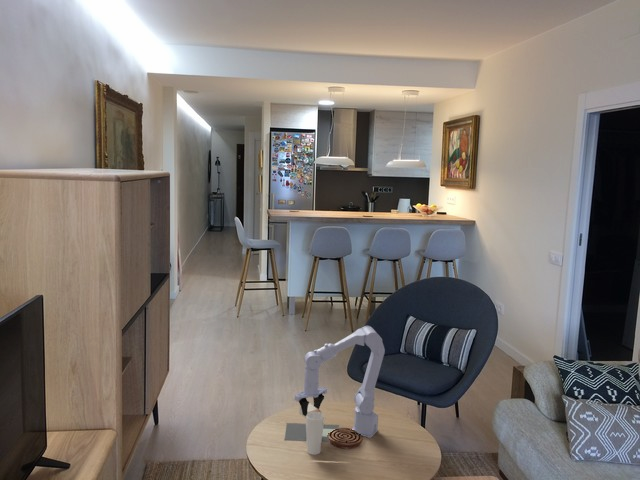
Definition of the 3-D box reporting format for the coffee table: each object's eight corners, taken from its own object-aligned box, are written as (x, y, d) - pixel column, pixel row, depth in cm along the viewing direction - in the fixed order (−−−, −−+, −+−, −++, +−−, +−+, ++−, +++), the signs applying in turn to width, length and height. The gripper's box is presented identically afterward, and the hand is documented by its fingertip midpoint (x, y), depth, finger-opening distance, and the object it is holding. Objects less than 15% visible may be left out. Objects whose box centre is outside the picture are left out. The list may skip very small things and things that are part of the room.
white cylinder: (324, 449, 206) (326, 413, 204) (318, 458, 200) (320, 421, 198) (308, 446, 209) (309, 410, 206) (302, 454, 202) (303, 417, 200)
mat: (338, 426, 225) (338, 424, 225) (339, 443, 211) (339, 442, 211) (286, 424, 225) (286, 422, 225) (284, 441, 211) (284, 439, 211)
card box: (299, 413, 219) (299, 405, 218) (309, 410, 222) (309, 403, 221) (311, 422, 212) (311, 414, 212) (321, 418, 215) (321, 411, 215)
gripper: (302, 389, 207) (300, 421, 209) (331, 381, 216) (330, 413, 218) (292, 382, 213) (291, 414, 215) (321, 375, 221) (320, 406, 223)
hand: (310, 413), depth 217 cm, fingers closed on card box, 5 cm apart
